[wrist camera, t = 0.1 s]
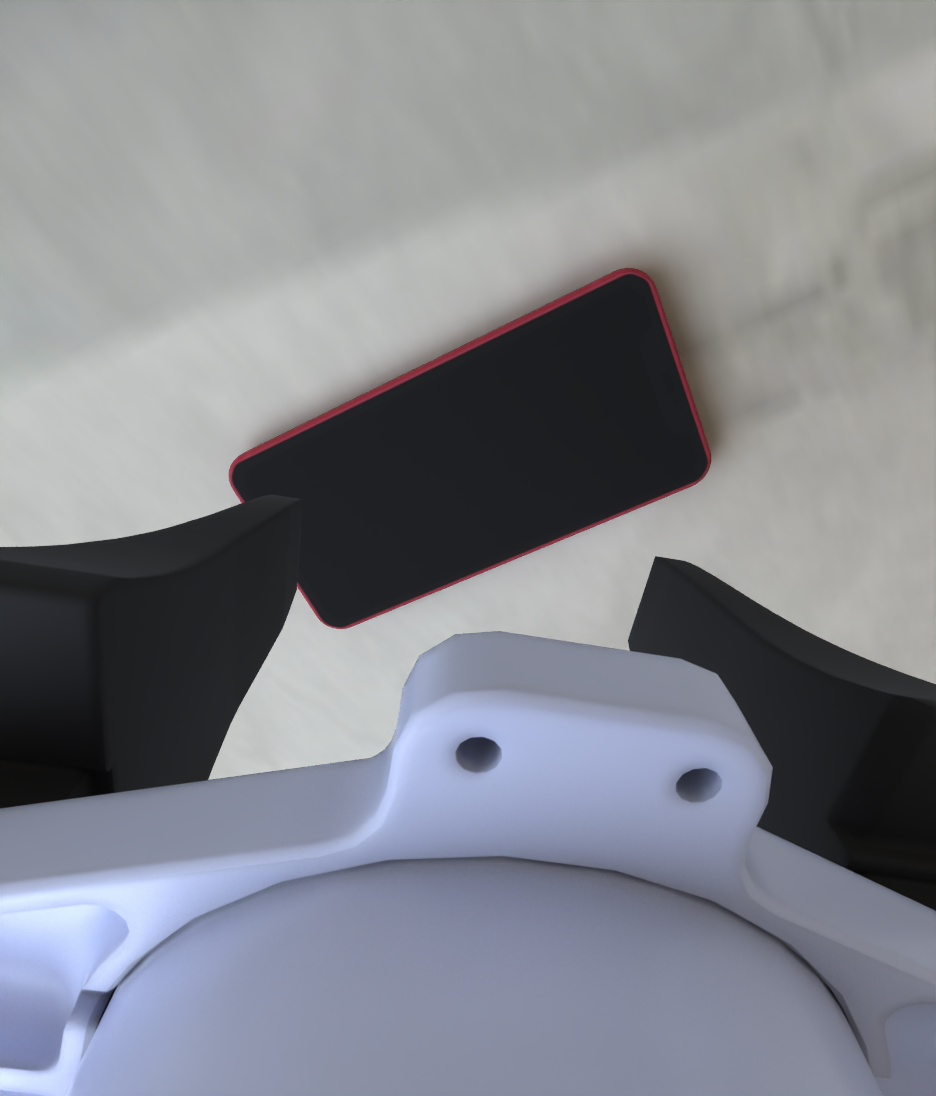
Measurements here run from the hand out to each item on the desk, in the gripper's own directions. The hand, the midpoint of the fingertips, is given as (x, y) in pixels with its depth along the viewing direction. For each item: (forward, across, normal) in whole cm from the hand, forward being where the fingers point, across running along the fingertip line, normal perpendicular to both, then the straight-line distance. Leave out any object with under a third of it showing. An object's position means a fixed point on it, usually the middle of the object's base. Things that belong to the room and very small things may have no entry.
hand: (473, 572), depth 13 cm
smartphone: (+10, 0, +1) cm, 10 cm away
